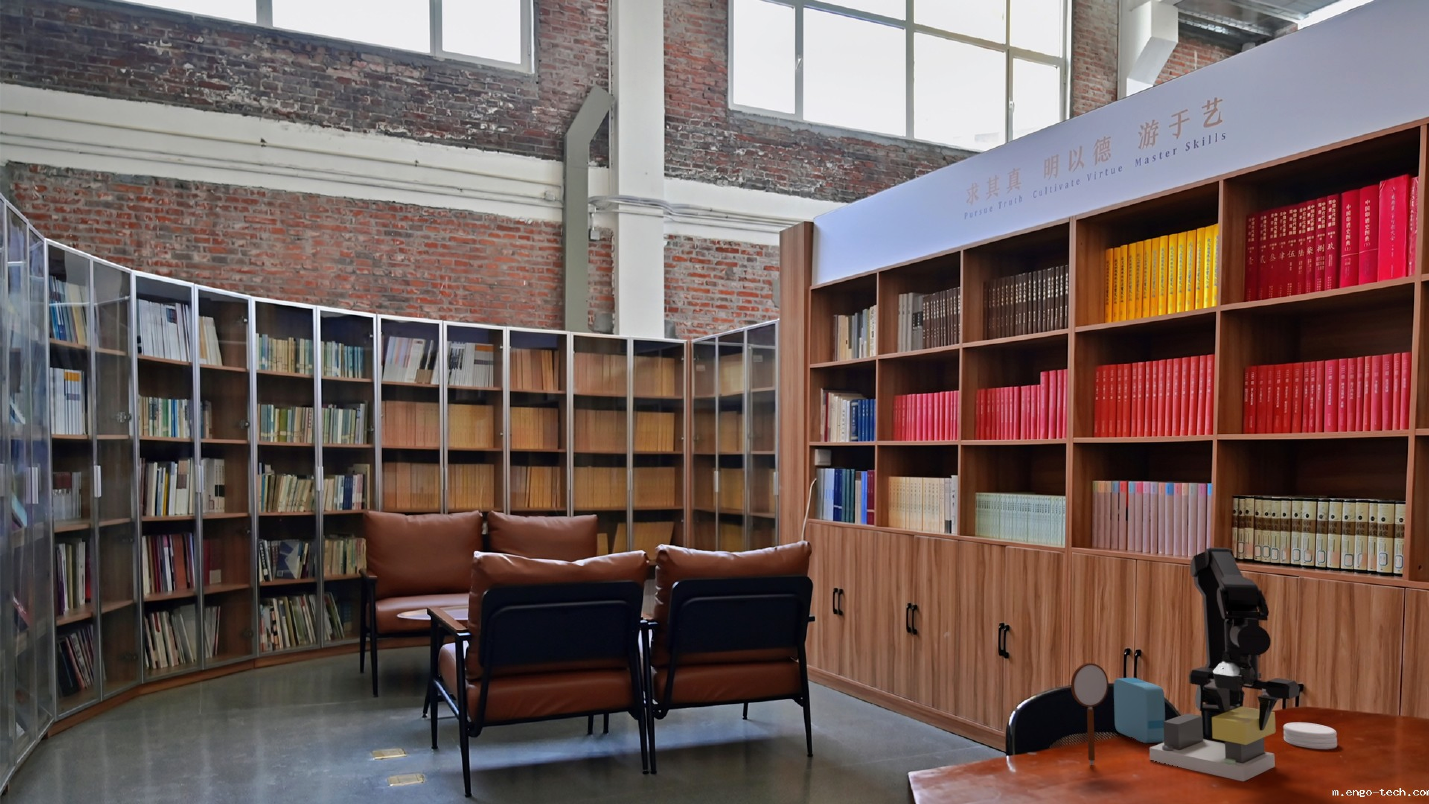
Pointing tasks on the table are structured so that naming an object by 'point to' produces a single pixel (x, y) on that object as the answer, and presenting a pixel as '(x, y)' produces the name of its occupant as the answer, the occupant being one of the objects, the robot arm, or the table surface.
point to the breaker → (1183, 731)
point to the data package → (1139, 709)
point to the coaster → (1310, 735)
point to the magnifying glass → (1089, 695)
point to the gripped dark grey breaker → (1244, 750)
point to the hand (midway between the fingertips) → (1244, 726)
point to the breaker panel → (1211, 760)
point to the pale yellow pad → (1241, 726)
